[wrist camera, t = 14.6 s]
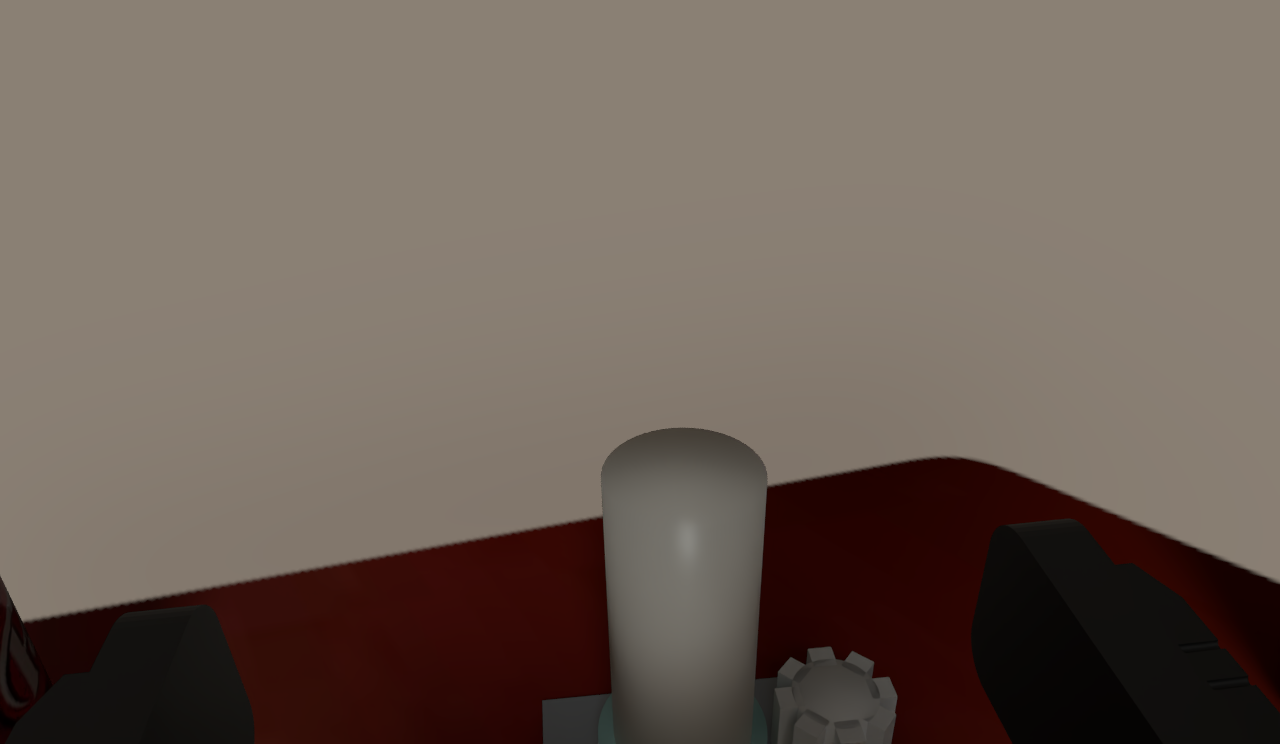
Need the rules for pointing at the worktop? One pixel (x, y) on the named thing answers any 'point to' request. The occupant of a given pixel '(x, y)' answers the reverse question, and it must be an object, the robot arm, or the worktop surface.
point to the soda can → (17, 668)
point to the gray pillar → (683, 589)
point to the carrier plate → (776, 705)
